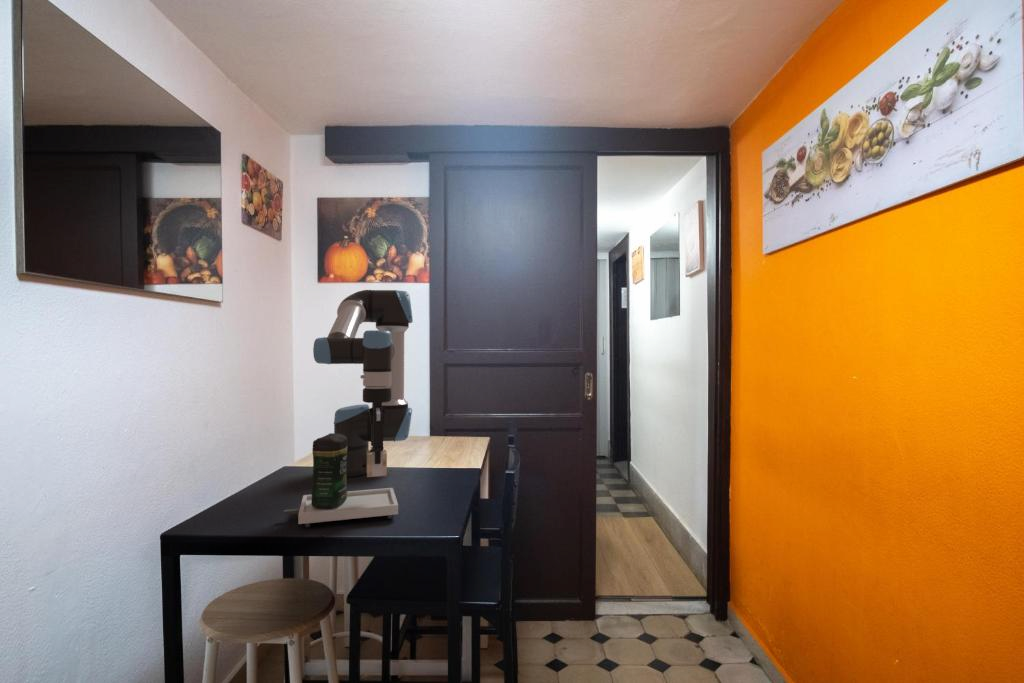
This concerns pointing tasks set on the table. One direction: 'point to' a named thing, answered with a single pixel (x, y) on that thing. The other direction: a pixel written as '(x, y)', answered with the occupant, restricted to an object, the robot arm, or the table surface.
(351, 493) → the white shallow tray
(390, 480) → the table surface
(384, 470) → the beech block
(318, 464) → the coffee jar
